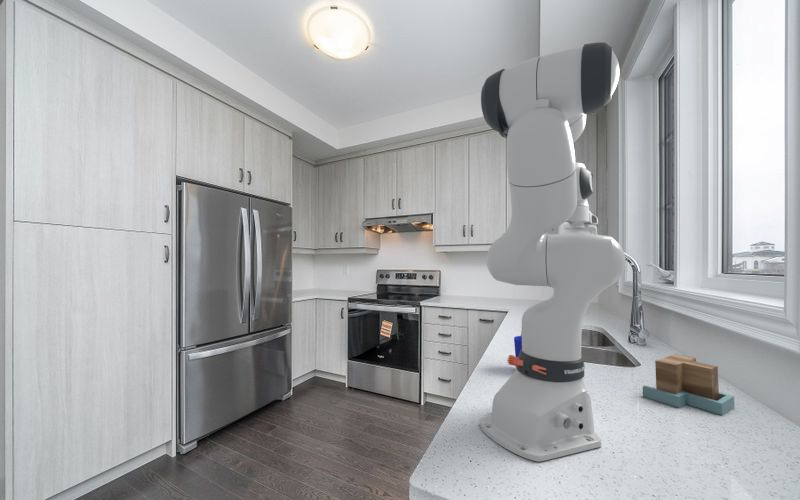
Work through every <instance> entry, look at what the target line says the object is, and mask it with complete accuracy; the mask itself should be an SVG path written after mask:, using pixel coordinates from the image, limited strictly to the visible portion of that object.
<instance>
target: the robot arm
mask: <svg viewBox="0 0 800 500" xmlns="http://www.w3.org/2000/svg"><path fill="white" fill-rule="evenodd" d="M618 60H619V59H618V57H617V56H616V54H615V52H614V51H613V47H612V46H611V45H609V44H608V43H606V42H602V41H601V42H590V43H586V44H583V46H582V47H575V48H569V49H565V50H562V51H561V50H560V51H557V52H553V53H549V54H545V55H539V56H535V57H533V58H530V59H527V60H524V61H522V62H519V63H517V64H514V65H513V66H511V67H508V68H506V69H505V68H502V69H500V70H498V71H496V72H493V74H491V75H489V76H488V77H487V78H486V79H485V81H484V83H483V85H482V88H481V92H480V107H481V108H480V109H481V111H482V115H483V119H484V120H485V122H486V124H487V125H488V126H489V127H490V128H491V129H492V130H493V131H495V132H497V133H499V135H500V136H501V137H502V138H505V139H507V140H506V166H507V178H508V184H509V191H510V202H511V218H510V222H509V225H508V227H507V229H506V230H505V231H504V233H503V234H501V236H500V237H499V238H497V239H496V240H495V241H493V242H492V244H491V245H490V247H489V248H488V250H487V254H486V266H487V267H486V268H487V270H488V272H489V273H490V275H491V276H492V278H493V279H495V281H498V282H502V283H505V284H510V285H515V286H531V287H549V288H552V289H553V294H552V296H551V297H550V298H548V299H545V300H544V301H541V302H539V303H536V304H534V305H532V306H530V307H528V308H527V309H526V310H525V311H524V312H523V314H522V316H521V336H522V349H521V350H520V353H519V356H518V357H516V356H515V355H512V354H509V355H508V357H507V360H506V361H507V363H508V365H509V366H514V367H515V371H514V373H513V374H511V376H510V377H509V378H508V379H507V380H506V382H505V383H504V384H503V385H502V386H501V387H500V389H499V390H498V391H497V392H496V393H495V395H494V397H493V400H492V405H491V406H492V407H491V412H490V413H489V414H487V415H485V416H483V417H481V418H480V420H479V426H480V429H481V430H482V432H483V433H484V434H486V435H487V437H489V438H490V439H491V440H492V441H494V442H495V443H496V444H498V445H499V446H501V447H503V448H504V449H506V450H508V451H510V452H511V453H514V454H516V455H518V456H520V457H522V458H523V459H527V460H530V461H535V462H544V461H548V460H552V459H556V458H560V457H564V456H569V455H573V454H576V453H581V452H585V451H589V450H592V449H597V448H600V447H602V440H601V438H600V436H599V435H598V434H597V433H596V432H595V426H594V424H595V423H594V414H593V406H592V397H591V394H590V393H589V391H588V389H587V387H586V385H585V383H584V381H583V378H584V377H585V369H586V366H585V361H584V357H583V356H582V335H583V334H582V333H583V322H584V318H585V315H586V313H587V310H588V308H589V306H590V304H591V303H592V302H593V300H594V299H595V298H596V297H597V296H598V295H599V294H600V293H602V292H603V291H605V289H608V288H609V287H611V286H612V285H614V284H616V282H617V281H618V280H619V279H620V278H621V276H622V275H623V273H624V271H625V268H626V255H625V252H624V249H623V248H622V246H621V244H620V243H619V242H618V241H617V240H616V239H614V237H612V236H609V235H605V234H604V235H603V234H602V235H601V234H598V226H597V225H598V224H599V218H598V217H597V216H596V215H594V214H593V213H592V212H591V211H590V204H589V202H588V199H589V197H590V196H592V195H593V194H594V192H593V182H594V181H593V178H594V174H593V172H591V171H590V170H588V169H587V167H586V165H585V163H582V162H577V161H576V152H575V147H574V143H576V141H577V140H578V139H579V138H580V137H581V136H582V134H583V132H584V130H585V128H586V123H587V115H588V114H592V113H593V112H596V111H598V110H601V109H603V108H605V107H606V105H608V103H609V102H610V101H611V100H612V95H614V92H615V90H616V88H617V86H618V83H619V78H620V63H619V61H618Z"/></svg>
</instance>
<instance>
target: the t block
mask: <svg viewBox="0 0 800 500" xmlns="http://www.w3.org/2000/svg"><path fill="white" fill-rule="evenodd" d="M654 362H655V387H656V388H655V389H659V390H662V391H665V392H669V393H672V394H677V393H679V392H681V391H684V392H688V393H691V394H695V395H698V396H702V397H705V398H709V399H712V400H716V401H718V400H719V392H720V390H719V387H720V386H719V371H718V370H719V367H718V366H717V365H714V364H710V363H705V362H699V361H697V358H696V357H692V356H688V355H683V354H677V353H674V354H671V355H669V356H666V357H662V358H660V359H655V360H654Z"/></svg>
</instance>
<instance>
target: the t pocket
mask: <svg viewBox="0 0 800 500" xmlns="http://www.w3.org/2000/svg"><path fill="white" fill-rule="evenodd" d="M642 396H643V397H644V398H648V399H649V400H654V401H657V402H660V403H663V404H665V405H669V406H672V407H675V408H678V409H680V408H682V407H684V406H685V405H687V406H692V407H695V408H698V409H699V410H700V409H701V410H703V411H707V412H710V413H714V414H717V415H719V416H724V415H725V414H727V413H728V412H730V411H731V410H733V409H734V408H735V396H734V395H731V394H727V393H723V392H720V391H719V400H718V401H716V400H712V399H709V398H705V397H702V396H698V395H695V394H691V393H688V392H684V391H681V392H679V393H677V394H672V393H669V392H665V391H662V390H659V389H656V388H654V387H651V386H649V385H642Z"/></svg>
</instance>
